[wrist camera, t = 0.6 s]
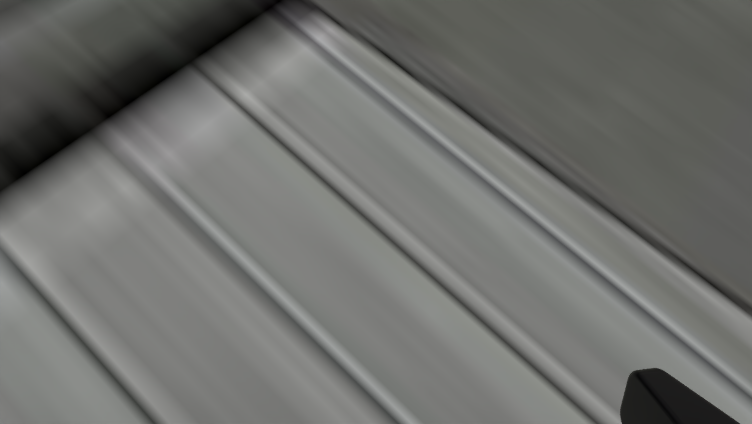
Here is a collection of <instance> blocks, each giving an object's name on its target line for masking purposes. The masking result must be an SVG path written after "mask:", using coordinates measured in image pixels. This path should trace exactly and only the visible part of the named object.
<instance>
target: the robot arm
mask: <svg viewBox="0 0 752 424" xmlns="http://www.w3.org/2000/svg"><path fill="white" fill-rule="evenodd" d="M620 416H621V422H622V424H740V423H738V422H737V421H735V420H734V419H733V418H731V417H730V416H728V415H727V414H725V413H724V412H723V411H721V410H720V409H718V408H717V407H715V406H714V405H712V404H711V403H710V402H708V401H707V400H705V399H704V398H702V397H701V396H699V395H698V394H697V393H695V392H694V391H692V390H691V389H689V388H688V387H687V386H685V385H684V384H682V383H681V382H679V381H678V380H676V379H675V378H674V377H672V376H671V375H669V374H668V373H666V372H665V371H663V370H661V369H658V368H651V369H643V370H636V371H633V372H632V373H631V374H630V375H629V377H628V381H627V384H626V388H625V392H624V396H623V400H622V404H621V409H620Z"/></svg>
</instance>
